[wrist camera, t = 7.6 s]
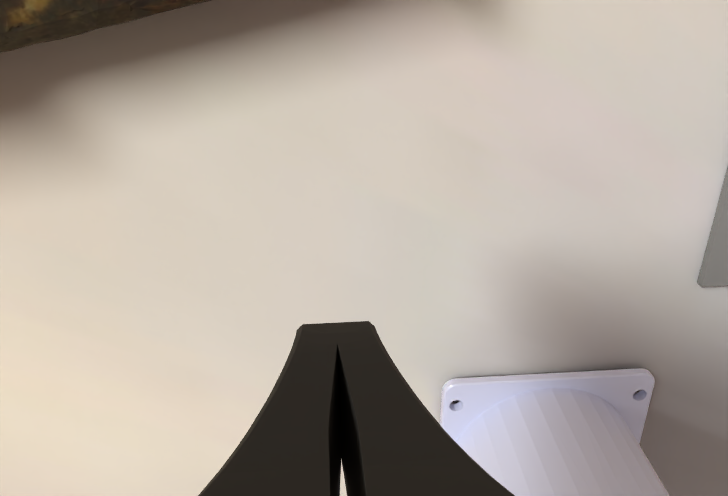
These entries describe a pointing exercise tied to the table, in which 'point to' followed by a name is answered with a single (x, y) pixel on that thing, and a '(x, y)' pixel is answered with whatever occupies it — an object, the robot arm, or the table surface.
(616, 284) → the table surface
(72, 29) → the hand tool
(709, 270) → the mat
